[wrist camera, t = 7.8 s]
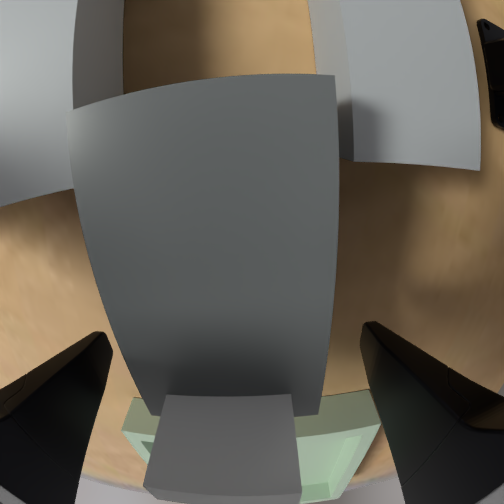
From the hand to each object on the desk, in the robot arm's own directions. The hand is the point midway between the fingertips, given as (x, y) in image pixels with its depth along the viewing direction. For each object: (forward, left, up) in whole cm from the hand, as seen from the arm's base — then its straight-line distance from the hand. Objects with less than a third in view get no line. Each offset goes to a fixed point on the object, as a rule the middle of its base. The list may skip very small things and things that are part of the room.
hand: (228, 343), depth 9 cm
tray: (0, +17, -4) cm, 18 cm away
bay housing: (0, -11, -4) cm, 12 cm away
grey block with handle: (0, -2, -5) cm, 5 cm away
